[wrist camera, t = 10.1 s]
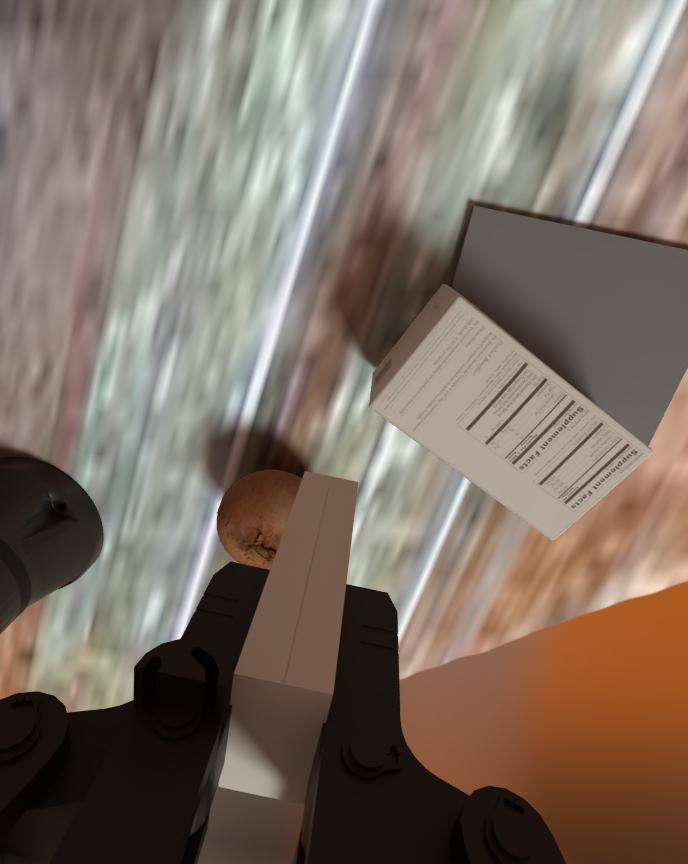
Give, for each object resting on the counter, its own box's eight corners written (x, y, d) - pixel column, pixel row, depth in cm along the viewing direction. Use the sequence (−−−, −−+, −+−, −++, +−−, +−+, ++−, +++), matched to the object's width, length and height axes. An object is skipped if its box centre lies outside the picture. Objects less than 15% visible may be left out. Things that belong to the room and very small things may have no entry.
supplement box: (365, 408, 31) (554, 547, 34) (459, 292, 28) (660, 455, 30) (371, 372, 40) (520, 484, 42) (443, 281, 37) (600, 408, 39)
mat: (638, 452, 41) (643, 456, 40) (418, 404, 42) (419, 407, 41) (733, 260, 35) (740, 261, 34) (472, 206, 35) (474, 205, 35)
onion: (346, 475, 45) (333, 536, 36) (310, 547, 49) (289, 620, 40) (254, 434, 44) (217, 486, 35) (224, 510, 48) (183, 575, 39)
